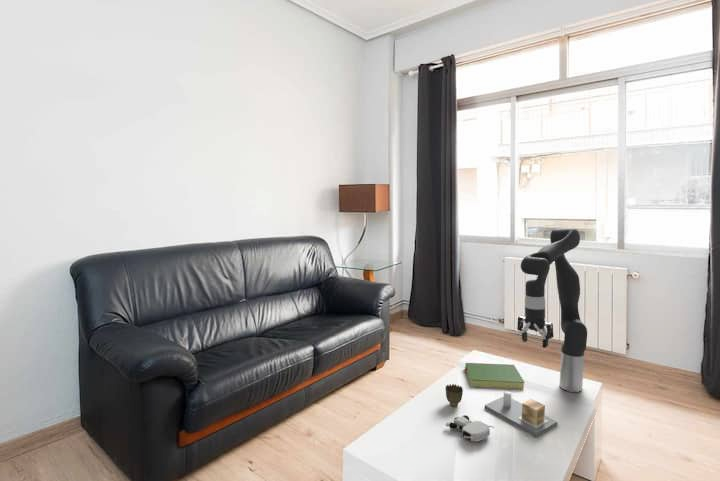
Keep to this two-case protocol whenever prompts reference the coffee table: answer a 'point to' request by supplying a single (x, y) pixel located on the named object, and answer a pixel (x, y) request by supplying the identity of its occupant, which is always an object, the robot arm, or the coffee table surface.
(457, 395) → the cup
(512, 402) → the post board
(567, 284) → the robot arm
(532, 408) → the cardboard box
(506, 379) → the hardcover book
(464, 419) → the robot toy
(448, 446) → the coffee table surface
